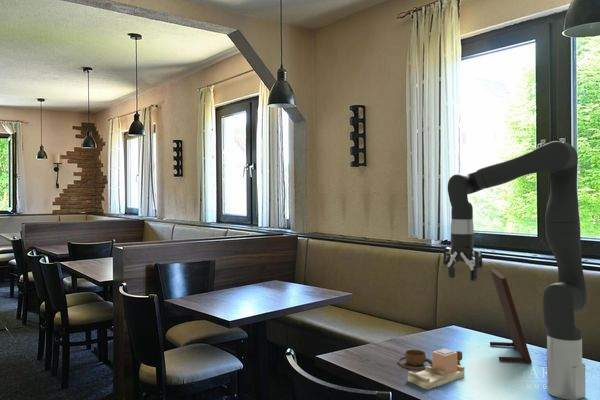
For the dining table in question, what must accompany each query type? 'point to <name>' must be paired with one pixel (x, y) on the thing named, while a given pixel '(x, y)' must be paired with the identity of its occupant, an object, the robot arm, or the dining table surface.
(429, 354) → the dining table surface
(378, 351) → the dining table surface
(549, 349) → the robot arm
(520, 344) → the picture frame
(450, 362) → the frame block
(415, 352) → the place setting
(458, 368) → the light wooden ridged board
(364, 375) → the dining table surface
